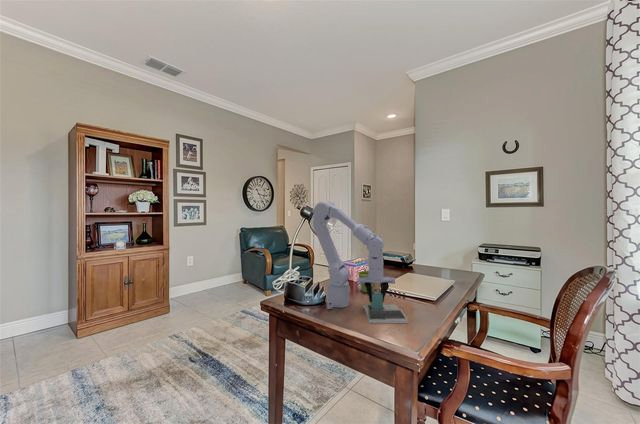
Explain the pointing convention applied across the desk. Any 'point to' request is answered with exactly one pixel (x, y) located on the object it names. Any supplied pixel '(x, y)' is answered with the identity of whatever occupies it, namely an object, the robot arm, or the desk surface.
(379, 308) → the block
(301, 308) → the desk surface
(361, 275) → the plant pot
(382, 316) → the case
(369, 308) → the lid
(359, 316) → the desk surface
